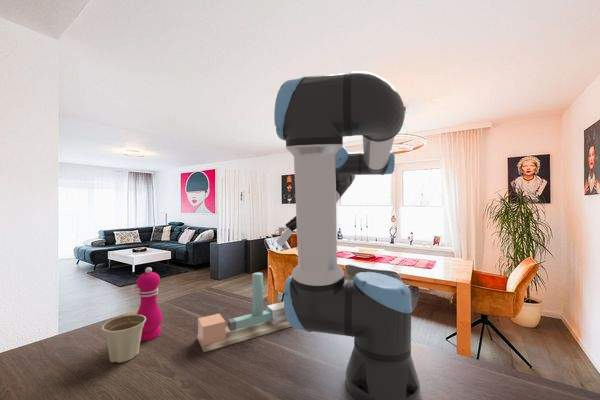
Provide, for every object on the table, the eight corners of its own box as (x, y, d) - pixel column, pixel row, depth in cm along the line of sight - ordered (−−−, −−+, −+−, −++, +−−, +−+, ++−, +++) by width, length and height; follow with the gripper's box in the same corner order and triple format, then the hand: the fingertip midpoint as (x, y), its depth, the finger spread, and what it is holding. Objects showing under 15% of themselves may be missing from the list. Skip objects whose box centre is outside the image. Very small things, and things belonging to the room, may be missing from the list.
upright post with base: (289, 311, 90) (289, 267, 90) (294, 314, 87) (294, 269, 87) (227, 327, 79) (227, 277, 78) (231, 332, 76) (231, 279, 76)
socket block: (219, 330, 79) (219, 313, 79) (225, 339, 74) (225, 321, 74) (198, 335, 76) (198, 318, 76) (202, 345, 70) (202, 327, 70)
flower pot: (132, 342, 74) (131, 311, 74) (154, 351, 70) (154, 318, 70) (93, 361, 66) (93, 326, 66) (116, 372, 62) (116, 334, 62)
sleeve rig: (288, 314, 92) (288, 298, 92) (300, 323, 86) (300, 306, 86) (197, 338, 76) (197, 319, 76) (203, 352, 70) (203, 330, 70)
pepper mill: (140, 345, 73) (140, 272, 73) (129, 336, 77) (129, 267, 77) (167, 334, 79) (167, 266, 79) (155, 327, 83) (155, 262, 83)
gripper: (354, 210, 86) (317, 262, 79) (311, 206, 108) (278, 248, 100) (342, 193, 83) (302, 246, 76) (300, 193, 105) (265, 235, 97)
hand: (288, 247), depth 88 cm, fingers open, 13 cm apart
